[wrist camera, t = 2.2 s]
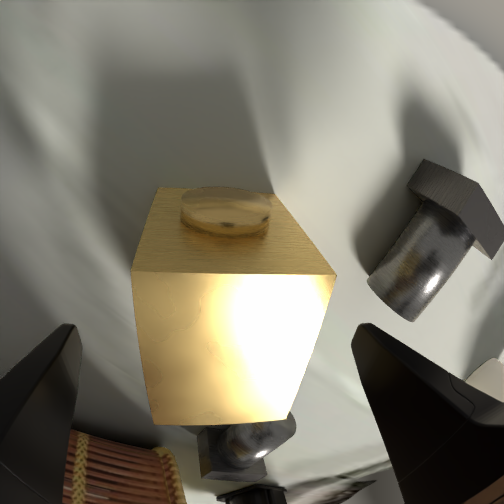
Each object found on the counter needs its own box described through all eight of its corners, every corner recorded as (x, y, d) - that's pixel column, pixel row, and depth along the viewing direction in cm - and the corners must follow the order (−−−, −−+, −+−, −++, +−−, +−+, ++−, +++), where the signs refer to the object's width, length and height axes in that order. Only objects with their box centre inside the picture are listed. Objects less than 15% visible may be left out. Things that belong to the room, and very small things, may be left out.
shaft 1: (241, 392, 18) (251, 441, 14) (295, 403, 19) (310, 446, 16) (197, 436, 20) (201, 478, 17) (247, 444, 21) (255, 481, 18)
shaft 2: (398, 295, 16) (432, 336, 13) (348, 266, 14) (385, 313, 11) (463, 205, 14) (508, 233, 11) (424, 158, 12) (478, 183, 9)
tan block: (252, 323, 15) (282, 427, 10) (160, 323, 14) (155, 432, 9) (276, 179, 12) (343, 252, 7) (158, 171, 11) (128, 244, 6)
